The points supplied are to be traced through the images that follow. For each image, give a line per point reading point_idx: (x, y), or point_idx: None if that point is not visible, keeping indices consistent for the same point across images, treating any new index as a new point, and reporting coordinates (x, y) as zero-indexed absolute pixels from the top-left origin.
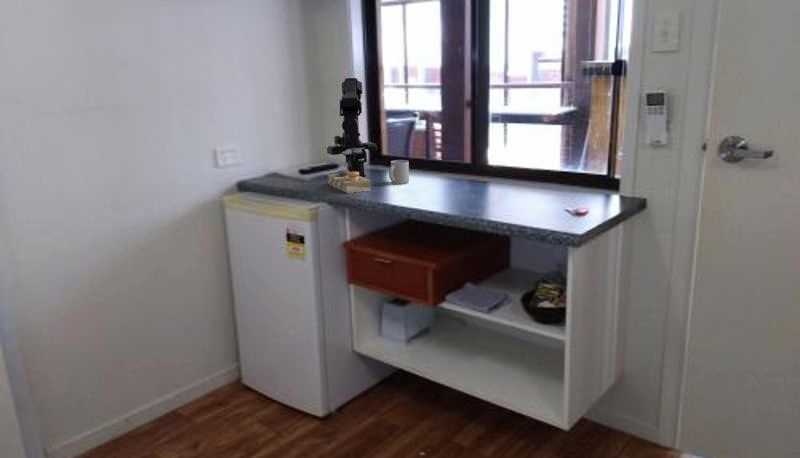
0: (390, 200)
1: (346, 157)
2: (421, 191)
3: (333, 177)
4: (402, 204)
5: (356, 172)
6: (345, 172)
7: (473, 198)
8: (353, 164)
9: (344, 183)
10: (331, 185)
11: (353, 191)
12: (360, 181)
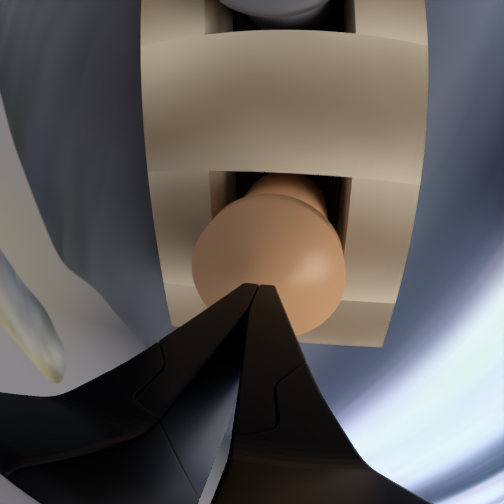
0: None
1: (74, 404)
2: (491, 410)
3: (142, 14)
4: None
5: (304, 298)
6: (267, 11)
7: (469, 480)
8: (227, 406)
9: (168, 282)
10: None
11: None
12: None
